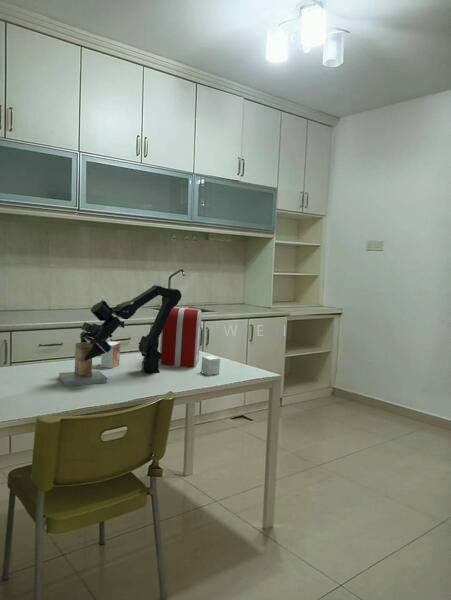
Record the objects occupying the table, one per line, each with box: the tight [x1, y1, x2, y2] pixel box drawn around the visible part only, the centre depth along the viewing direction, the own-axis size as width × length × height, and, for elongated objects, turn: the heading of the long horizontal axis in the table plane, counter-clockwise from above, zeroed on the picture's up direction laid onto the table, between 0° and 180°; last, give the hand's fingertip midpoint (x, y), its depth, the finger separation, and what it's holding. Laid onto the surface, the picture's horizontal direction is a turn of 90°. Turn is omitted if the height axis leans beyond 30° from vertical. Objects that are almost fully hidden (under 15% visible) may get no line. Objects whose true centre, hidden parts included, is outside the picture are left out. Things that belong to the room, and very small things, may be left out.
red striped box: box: [159, 306, 203, 369], centre depth 223 cm, size 16×18×27 cm
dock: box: [58, 369, 108, 387], centre depth 184 cm, size 16×12×2 cm
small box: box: [100, 341, 121, 369], centre depth 208 cm, size 8×6×10 cm
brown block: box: [73, 342, 93, 378], centre depth 183 cm, size 5×5×13 cm
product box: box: [200, 355, 221, 376], centre depth 208 cm, size 6×6×7 cm
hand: (80, 357), depth 182 cm, fingers open, 9 cm apart
